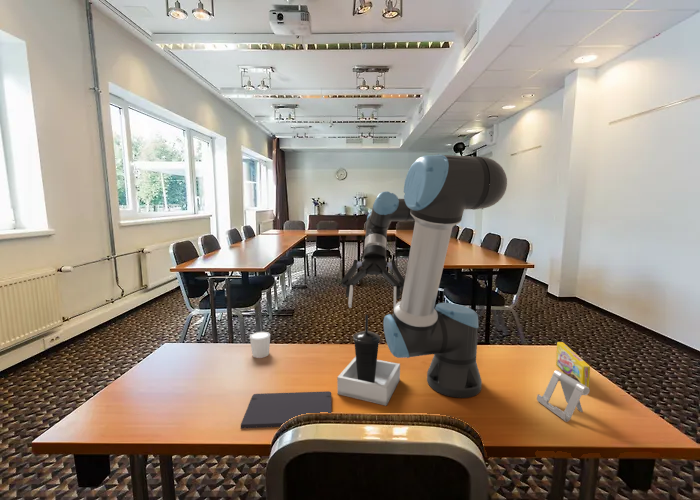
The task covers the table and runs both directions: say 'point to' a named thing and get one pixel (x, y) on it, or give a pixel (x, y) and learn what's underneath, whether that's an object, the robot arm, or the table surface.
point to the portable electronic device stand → (571, 393)
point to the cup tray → (369, 391)
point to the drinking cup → (366, 353)
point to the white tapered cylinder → (260, 344)
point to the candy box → (572, 364)
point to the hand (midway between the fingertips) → (372, 306)
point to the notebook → (283, 407)
